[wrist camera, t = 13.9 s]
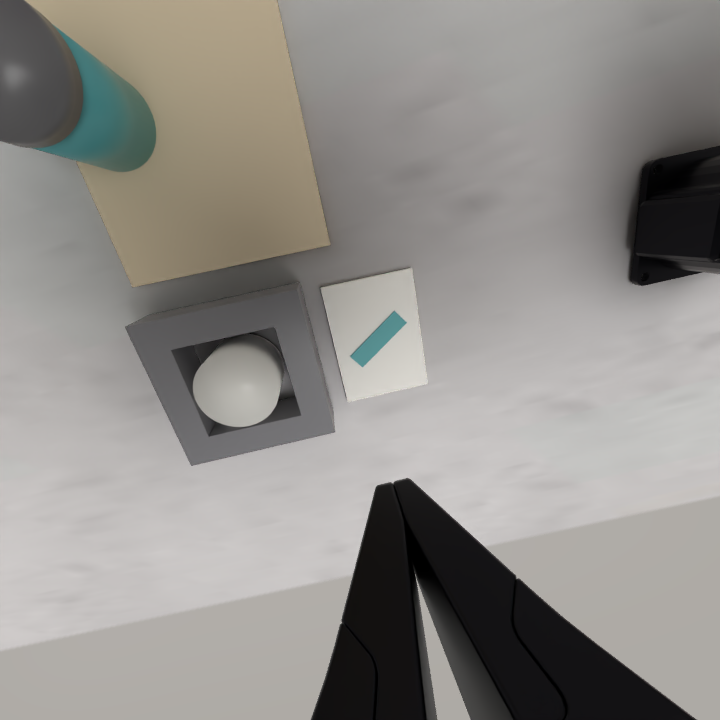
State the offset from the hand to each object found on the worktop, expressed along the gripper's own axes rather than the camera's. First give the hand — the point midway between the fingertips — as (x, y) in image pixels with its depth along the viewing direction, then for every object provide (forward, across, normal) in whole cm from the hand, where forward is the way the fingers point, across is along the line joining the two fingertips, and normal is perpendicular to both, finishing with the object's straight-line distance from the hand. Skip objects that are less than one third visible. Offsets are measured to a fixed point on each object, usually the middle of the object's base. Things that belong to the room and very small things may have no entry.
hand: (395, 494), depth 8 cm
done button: (+12, +6, 0) cm, 13 cm away
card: (+12, -2, 0) cm, 12 cm away
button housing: (+12, +6, 0) cm, 13 cm away
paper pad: (+12, +5, -12) cm, 18 cm away
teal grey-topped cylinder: (+12, +8, -12) cm, 19 cm away
